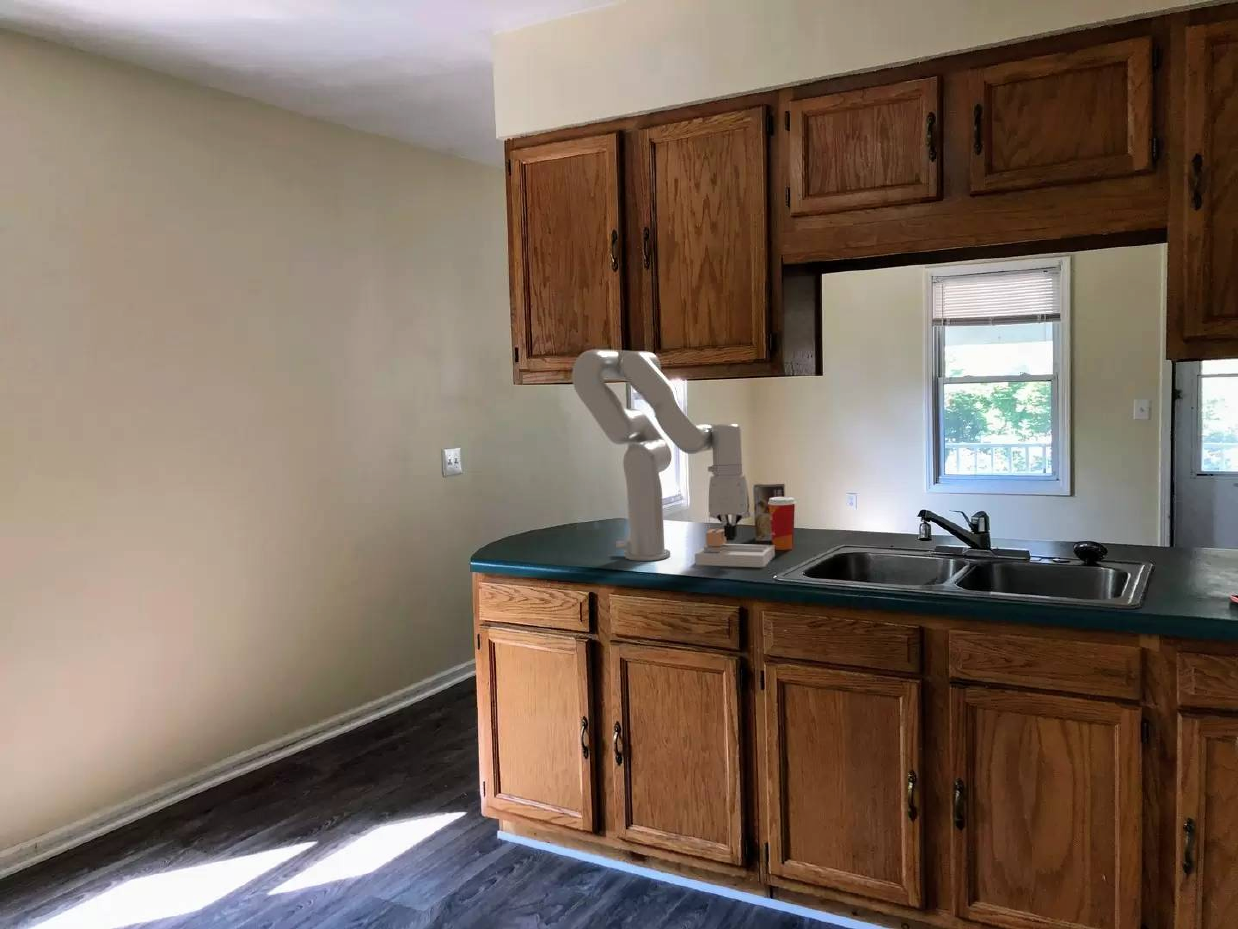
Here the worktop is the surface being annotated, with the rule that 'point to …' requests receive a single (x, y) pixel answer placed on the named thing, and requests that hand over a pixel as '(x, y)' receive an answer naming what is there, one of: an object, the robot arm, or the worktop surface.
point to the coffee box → (765, 508)
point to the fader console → (735, 555)
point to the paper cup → (782, 522)
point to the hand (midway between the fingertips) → (730, 539)
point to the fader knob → (715, 537)
